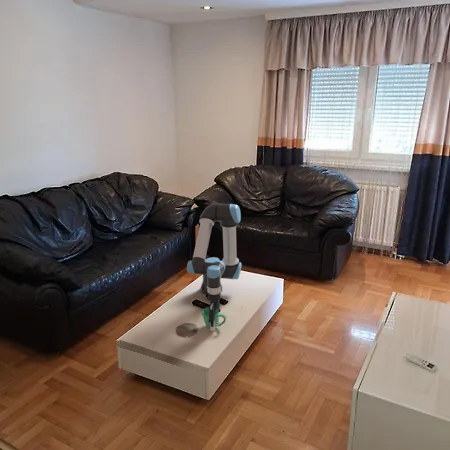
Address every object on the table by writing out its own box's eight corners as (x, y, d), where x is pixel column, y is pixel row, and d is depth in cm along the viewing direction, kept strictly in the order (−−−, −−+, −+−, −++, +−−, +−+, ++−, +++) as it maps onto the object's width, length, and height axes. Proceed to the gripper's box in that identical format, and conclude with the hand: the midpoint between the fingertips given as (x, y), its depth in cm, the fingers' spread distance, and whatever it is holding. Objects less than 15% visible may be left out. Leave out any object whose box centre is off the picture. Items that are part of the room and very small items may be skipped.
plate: (180, 322, 239) (179, 321, 239) (200, 325, 237) (200, 324, 236) (172, 335, 227) (172, 333, 227) (193, 338, 225) (193, 336, 224)
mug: (199, 328, 233) (199, 313, 230) (206, 320, 242) (206, 305, 239) (223, 333, 228) (222, 318, 225) (229, 325, 237) (228, 310, 234)
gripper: (212, 283, 239) (213, 315, 246) (202, 300, 219) (203, 335, 226) (224, 284, 237) (225, 317, 244) (215, 302, 217) (216, 337, 224)
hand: (214, 326), depth 235 cm, fingers closed on mug, 9 cm apart
